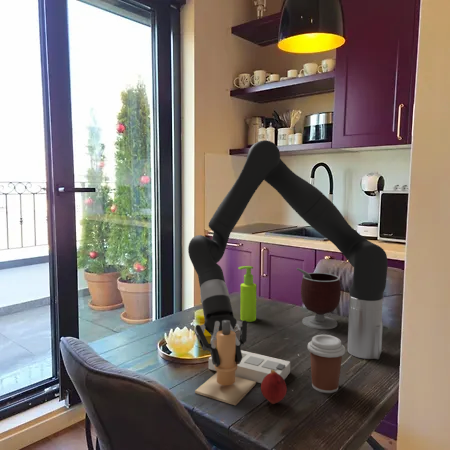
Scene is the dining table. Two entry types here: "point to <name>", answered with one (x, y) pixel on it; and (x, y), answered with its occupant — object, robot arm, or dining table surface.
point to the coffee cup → (325, 362)
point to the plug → (226, 354)
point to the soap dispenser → (248, 296)
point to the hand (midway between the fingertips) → (228, 363)
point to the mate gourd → (320, 298)
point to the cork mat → (226, 389)
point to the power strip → (258, 366)
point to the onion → (273, 387)
